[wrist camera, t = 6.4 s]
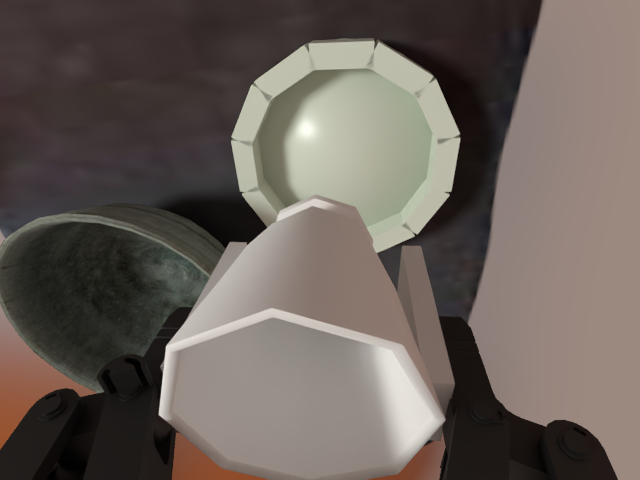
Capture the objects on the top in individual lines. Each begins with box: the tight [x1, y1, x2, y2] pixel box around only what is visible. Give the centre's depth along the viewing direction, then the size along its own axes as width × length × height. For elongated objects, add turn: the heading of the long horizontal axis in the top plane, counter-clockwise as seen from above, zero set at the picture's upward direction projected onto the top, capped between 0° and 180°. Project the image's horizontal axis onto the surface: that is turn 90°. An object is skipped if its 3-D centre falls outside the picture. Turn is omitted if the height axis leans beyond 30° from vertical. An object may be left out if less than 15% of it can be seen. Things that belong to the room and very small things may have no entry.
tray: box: [231, 38, 460, 253], centre depth 28 cm, size 16×16×3 cm
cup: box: [159, 194, 446, 480], centre depth 13 cm, size 7×10×8 cm
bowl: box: [0, 203, 226, 393], centre depth 33 cm, size 21×21×10 cm
